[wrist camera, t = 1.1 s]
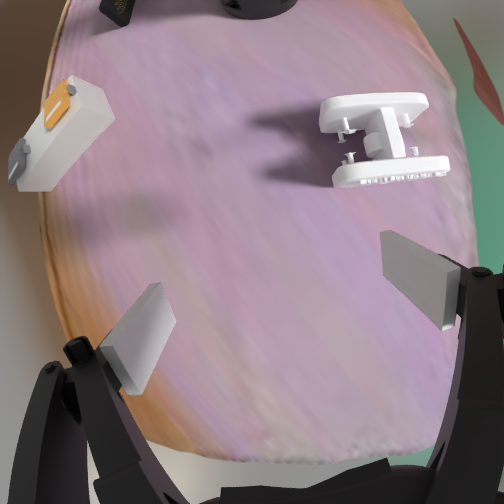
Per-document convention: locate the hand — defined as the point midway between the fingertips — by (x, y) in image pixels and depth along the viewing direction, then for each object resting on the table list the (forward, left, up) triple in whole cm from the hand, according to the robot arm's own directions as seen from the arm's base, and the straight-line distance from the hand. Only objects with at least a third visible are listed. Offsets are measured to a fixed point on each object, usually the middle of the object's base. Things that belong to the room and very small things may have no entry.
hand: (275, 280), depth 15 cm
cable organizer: (-12, +13, -26) cm, 32 cm away
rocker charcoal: (-22, -51, -14) cm, 58 cm away
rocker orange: (-29, -37, -14) cm, 49 cm away
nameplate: (-63, -30, -26) cm, 74 cm away
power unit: (-26, -44, -26) cm, 57 cm away
